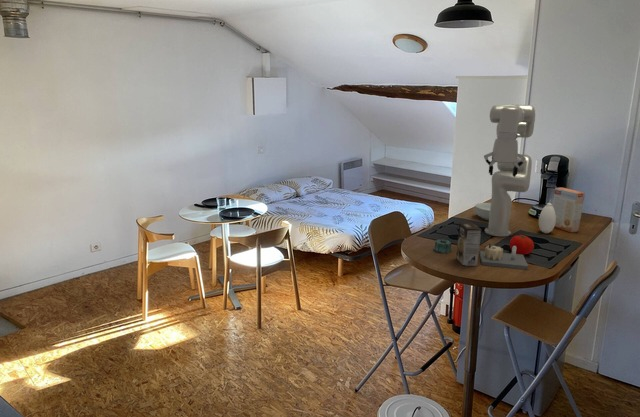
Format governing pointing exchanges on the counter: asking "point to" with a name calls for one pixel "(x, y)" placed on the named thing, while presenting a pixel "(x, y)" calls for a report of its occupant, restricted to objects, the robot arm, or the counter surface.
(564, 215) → the cracker box
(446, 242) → the teal gear
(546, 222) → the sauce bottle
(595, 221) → the counter surface
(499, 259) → the gear board
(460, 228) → the brown printed box
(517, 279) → the counter surface
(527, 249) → the tomato
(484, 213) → the cereal bowl
